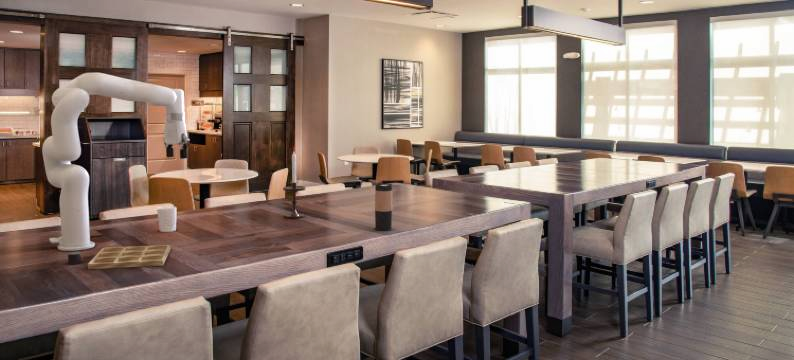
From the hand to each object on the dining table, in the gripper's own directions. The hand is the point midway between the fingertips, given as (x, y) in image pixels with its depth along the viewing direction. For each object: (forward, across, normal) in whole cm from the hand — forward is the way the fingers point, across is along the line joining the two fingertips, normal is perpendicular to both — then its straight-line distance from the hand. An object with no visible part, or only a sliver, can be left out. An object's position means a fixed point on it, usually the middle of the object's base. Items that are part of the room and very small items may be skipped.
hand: (176, 157), depth 270 cm
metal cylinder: (+31, +22, -57) cm, 68 cm away
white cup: (+31, -1, -5) cm, 32 cm away
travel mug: (+31, +70, +55) cm, 95 cm away
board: (+31, +32, -42) cm, 61 cm away
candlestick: (+31, +19, +52) cm, 63 cm away
